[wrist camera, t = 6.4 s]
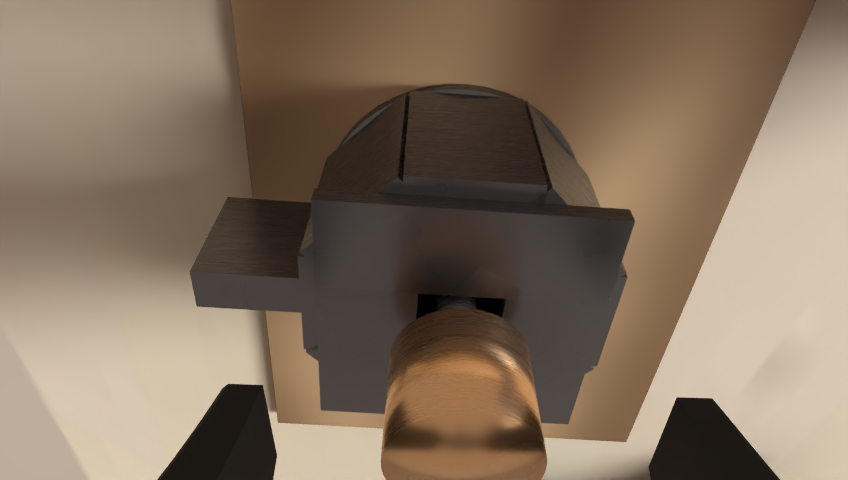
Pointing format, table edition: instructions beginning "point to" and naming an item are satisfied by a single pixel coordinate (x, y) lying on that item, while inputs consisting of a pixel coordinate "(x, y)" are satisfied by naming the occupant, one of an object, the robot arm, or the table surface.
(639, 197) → the walnut board
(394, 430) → the plunger
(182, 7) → the table surface
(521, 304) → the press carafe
